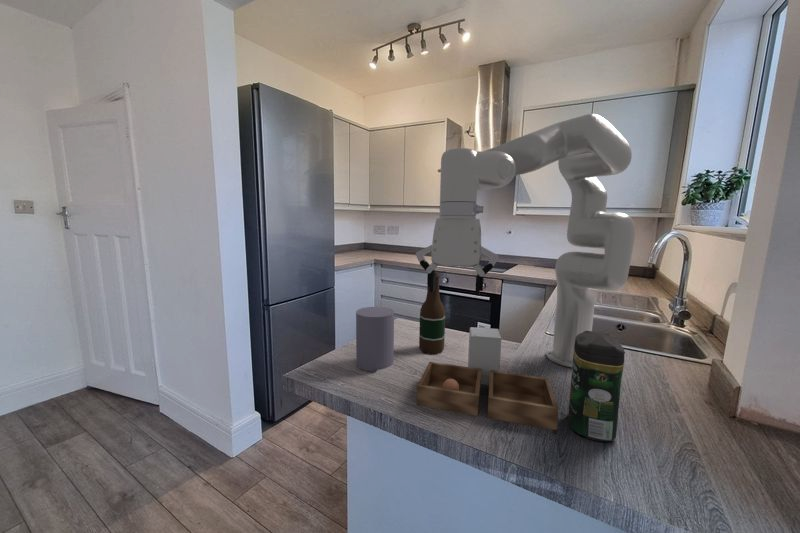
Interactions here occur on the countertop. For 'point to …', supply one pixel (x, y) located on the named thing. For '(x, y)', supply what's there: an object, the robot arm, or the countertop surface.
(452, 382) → the ball
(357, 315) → the container
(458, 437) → the countertop surface
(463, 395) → the bin
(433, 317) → the beer bottle
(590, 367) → the coffee jar
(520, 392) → the bin
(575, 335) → the robot arm
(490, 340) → the supplement box
